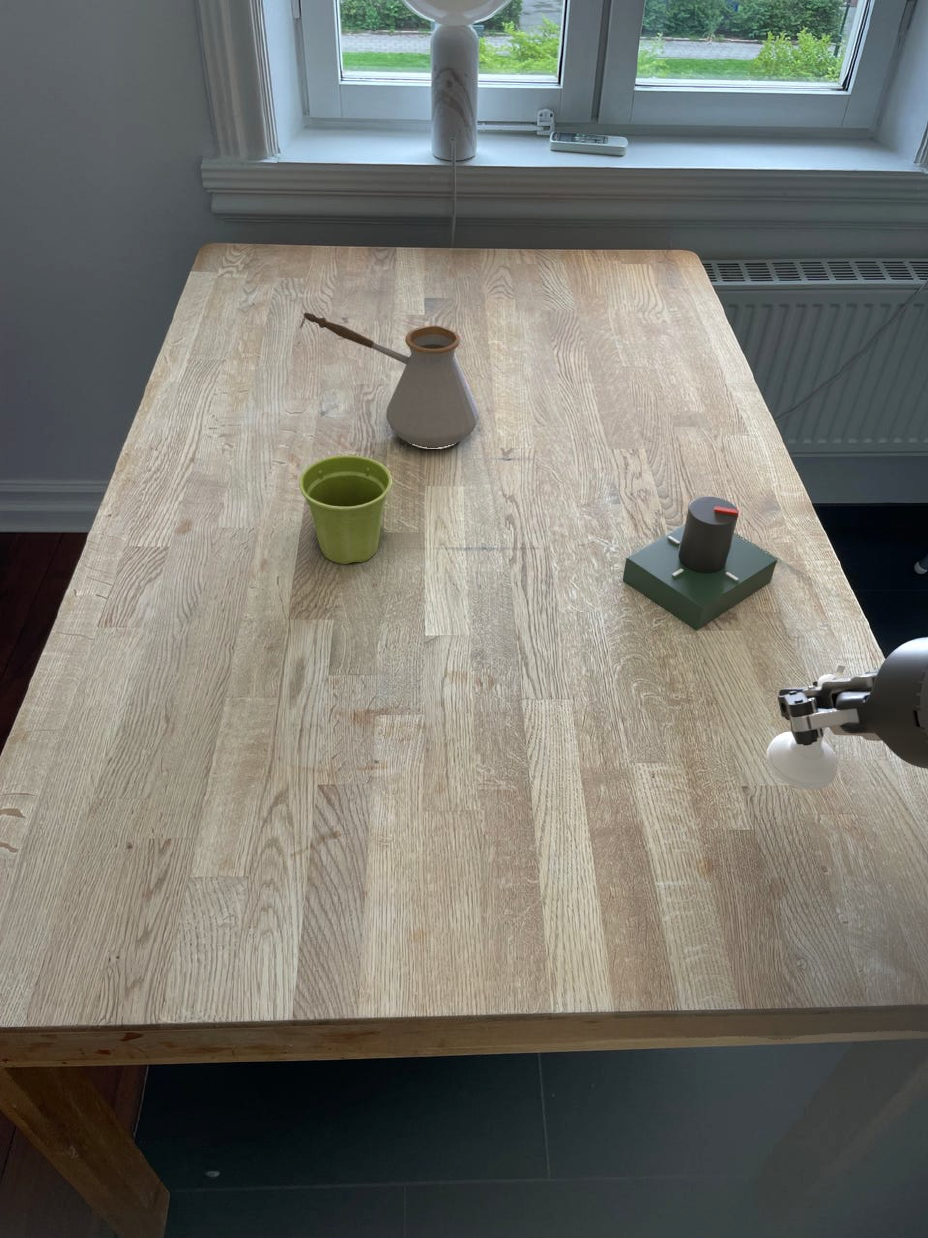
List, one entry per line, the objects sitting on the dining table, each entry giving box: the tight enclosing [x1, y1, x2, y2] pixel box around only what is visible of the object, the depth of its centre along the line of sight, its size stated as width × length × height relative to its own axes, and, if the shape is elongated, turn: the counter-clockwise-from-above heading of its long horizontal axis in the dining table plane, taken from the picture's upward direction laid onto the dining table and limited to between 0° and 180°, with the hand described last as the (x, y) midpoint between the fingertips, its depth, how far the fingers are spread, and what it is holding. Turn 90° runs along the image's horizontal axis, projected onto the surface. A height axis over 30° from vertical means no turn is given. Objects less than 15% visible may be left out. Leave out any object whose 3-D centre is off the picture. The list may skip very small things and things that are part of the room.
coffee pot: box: [299, 311, 480, 448], centre depth 117 cm, size 21×12×15 cm, turn 85°
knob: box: [679, 496, 740, 573], centre depth 97 cm, size 5×5×6 cm
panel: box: [622, 523, 778, 631], centre depth 100 cm, size 12×10×3 cm
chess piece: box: [765, 660, 847, 791], centre depth 66 cm, size 5×5×10 cm
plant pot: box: [298, 454, 393, 565], centre depth 101 cm, size 9×9×9 cm
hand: (802, 699), depth 68 cm, fingers closed on chess piece
